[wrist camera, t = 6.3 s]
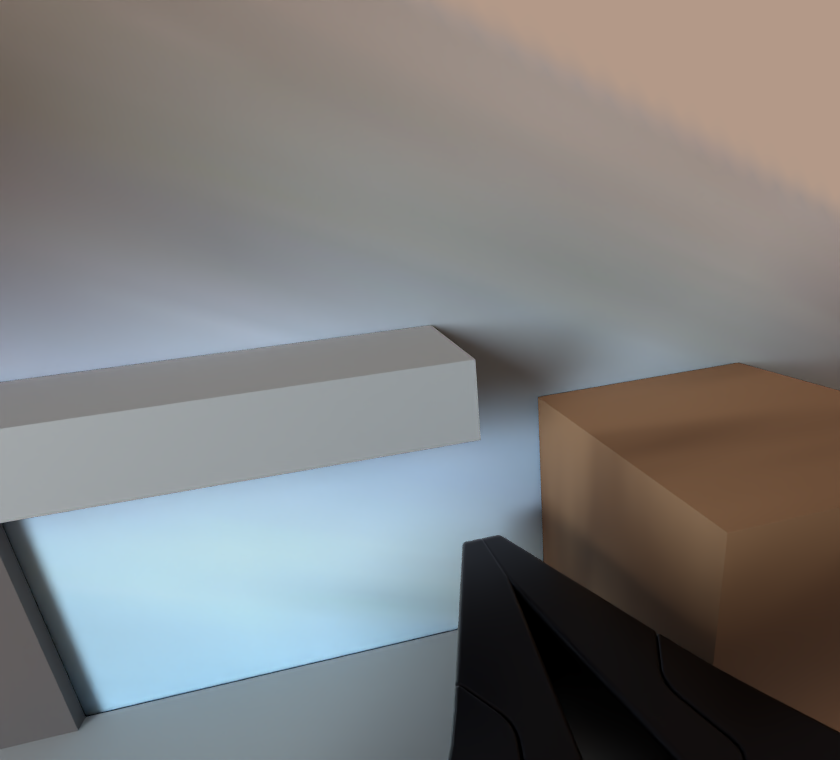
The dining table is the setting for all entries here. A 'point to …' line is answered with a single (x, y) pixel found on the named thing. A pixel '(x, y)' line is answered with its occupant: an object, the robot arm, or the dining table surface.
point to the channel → (216, 465)
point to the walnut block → (707, 518)
